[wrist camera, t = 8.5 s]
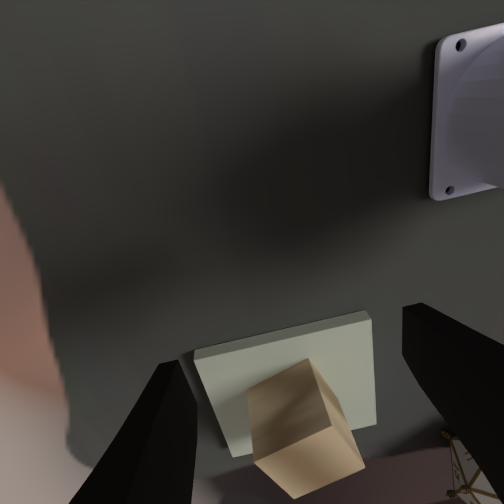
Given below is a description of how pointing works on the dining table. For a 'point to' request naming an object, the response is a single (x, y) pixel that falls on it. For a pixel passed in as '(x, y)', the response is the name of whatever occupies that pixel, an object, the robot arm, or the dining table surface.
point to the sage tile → (283, 357)
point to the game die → (468, 476)
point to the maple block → (300, 431)
